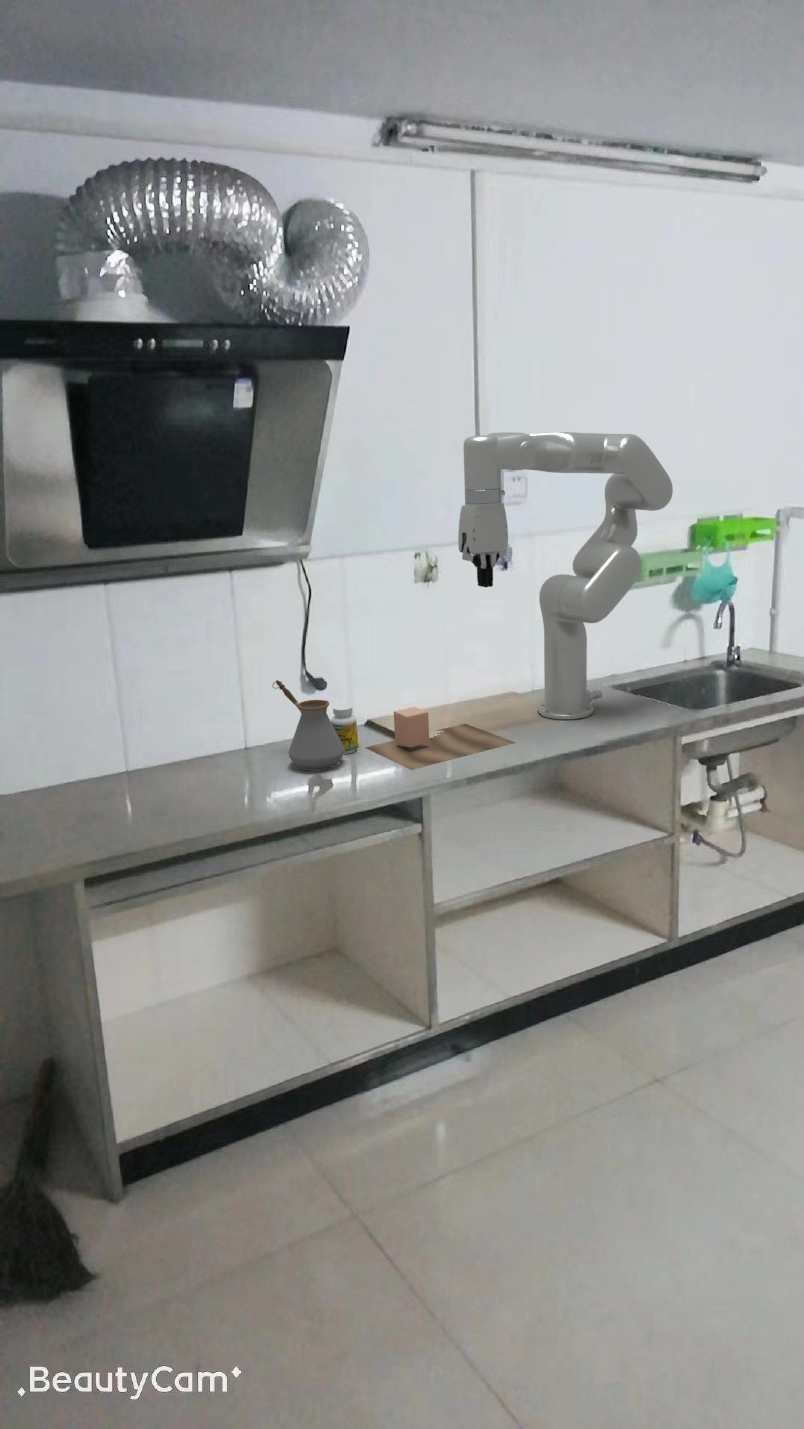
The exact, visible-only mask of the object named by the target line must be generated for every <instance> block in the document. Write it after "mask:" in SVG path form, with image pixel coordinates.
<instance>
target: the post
mask: <svg viewBox="0 0 804 1429" xmlns="http://www.w3.org/2000/svg"><path fill="white" fill-rule="evenodd" d="M398 746H399V747H401V748H403V749H405V750H407V751H412V750H416V749H421V748H425V747H427V745H424V744H421V745H417V746H413V747H409V748H408V747H406V746H404V745H402V744H399V745H398Z"/></svg>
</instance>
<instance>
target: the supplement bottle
mask: <svg viewBox="0 0 804 1429" xmlns="http://www.w3.org/2000/svg"><path fill="white" fill-rule="evenodd" d="M332 714H333V717H332V718H331V719H330V721H331V723H332V725H333V727H334V729H335V731H336V733H337V735H338V737H339V738H340V740H341V742H342V744H343V746H344V748H345V751H344V754H343V755H350V754H353V753H356V752H357V751H358V748H359V738H358V736H359V735H358V723H357V717H356V716H355V715H353V706H352V705H350V704H338V705H335V706H334V707H333V708H332Z"/></svg>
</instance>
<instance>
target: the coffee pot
mask: <svg viewBox="0 0 804 1429" xmlns="http://www.w3.org/2000/svg"><path fill="white" fill-rule="evenodd" d="M275 684H276V686H277V687H274V685H275ZM271 687H272V688H273V689H275V690H276V689H279V690H282V693H284V694H283V695H284V696H286V698H287V699H289V701H290V702H291V703H292V704H293V705H294V706H295V707H296V708H297V709H298V710H299V712H300V718H299V721H298V723H297V726H296V728H295V732H294V734H293V738H292V740H291V743H290V746H289V749H288V757H289V759H290V760H291V761H292V762H293V763H294V764H295V765H297V766H298V767H299V768H300V769H302V770H306V771H324V770H328V769H330V768H333V767H335V766H336V765H337V763H338V762H339V761H341V759H343V756H344V755H345V754H344V751H345V748H344V746H343V744H342V742H341V740H340V738H339V737H338V735H337V733H336V731H335V729H334V727H333V725H332V723H331V719H330V718H329V715H328V713H327V711H328V707H329V706H330V702H329V701H328V700H325V699H324V700H323V699H311V700H310V699H309V700H304V701H301V702H299V701H298V700H297V699H296V698H295V696H294V695H293V694H292V692H291V691H290V690H289V689H288V688H286V685H285V684H283V682H282V681H280V680H275V682H273V683H272V685H271Z"/></svg>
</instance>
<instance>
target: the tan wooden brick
mask: <svg viewBox="0 0 804 1429" xmlns="http://www.w3.org/2000/svg"><path fill="white" fill-rule="evenodd" d="M429 723H430V722H429V712H428V711H426V710H424V709H421V708H418V707H416V706H413V707H407V708H402V709H397V710H394V711H393V726H394V740H395V742H397V743H399V744H402V745H404V746H406V747H408V748H409V747H413V746H417V745H421V744H425V743H429V732H430V724H429Z"/></svg>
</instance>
